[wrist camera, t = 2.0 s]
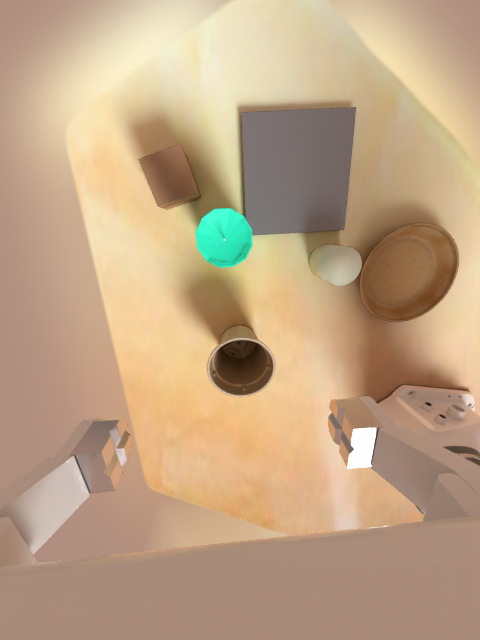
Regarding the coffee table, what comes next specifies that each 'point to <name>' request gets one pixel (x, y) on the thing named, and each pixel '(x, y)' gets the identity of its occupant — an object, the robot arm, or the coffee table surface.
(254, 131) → the coaster
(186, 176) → the walnut cube
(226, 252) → the candle
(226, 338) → the flower pot
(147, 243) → the coffee table surface
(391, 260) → the plant saucer
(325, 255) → the white rounded capsule
